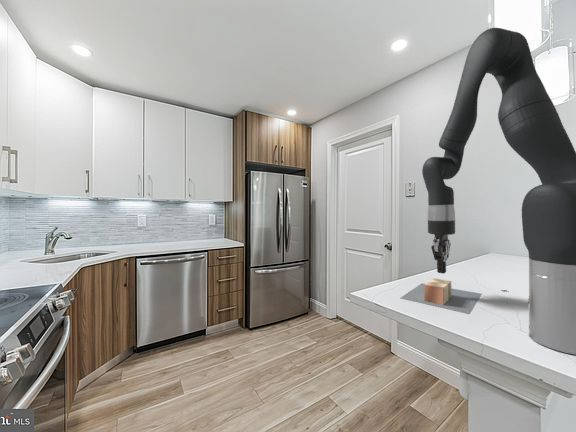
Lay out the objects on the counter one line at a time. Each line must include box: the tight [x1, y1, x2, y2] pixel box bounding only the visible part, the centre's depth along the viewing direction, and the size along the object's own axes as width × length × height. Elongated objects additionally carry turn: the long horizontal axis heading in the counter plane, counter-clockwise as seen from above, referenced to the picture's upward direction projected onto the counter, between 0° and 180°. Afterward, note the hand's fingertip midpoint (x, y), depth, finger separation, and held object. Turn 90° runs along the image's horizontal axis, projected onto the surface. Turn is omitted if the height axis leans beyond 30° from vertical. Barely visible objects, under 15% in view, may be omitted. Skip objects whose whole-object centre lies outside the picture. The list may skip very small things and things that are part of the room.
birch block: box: [424, 277, 452, 305], centre depth 76 cm, size 5×5×10 cm
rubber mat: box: [399, 283, 482, 315], centre depth 79 cm, size 18×22×1 cm
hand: (441, 272), depth 79 cm, fingers closed
